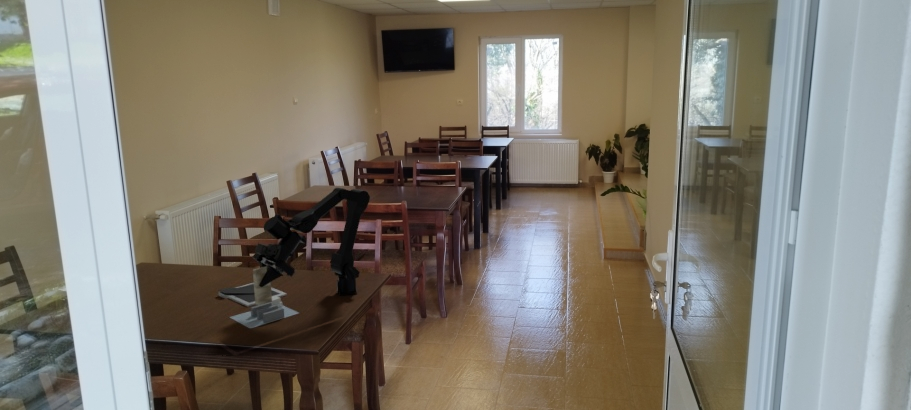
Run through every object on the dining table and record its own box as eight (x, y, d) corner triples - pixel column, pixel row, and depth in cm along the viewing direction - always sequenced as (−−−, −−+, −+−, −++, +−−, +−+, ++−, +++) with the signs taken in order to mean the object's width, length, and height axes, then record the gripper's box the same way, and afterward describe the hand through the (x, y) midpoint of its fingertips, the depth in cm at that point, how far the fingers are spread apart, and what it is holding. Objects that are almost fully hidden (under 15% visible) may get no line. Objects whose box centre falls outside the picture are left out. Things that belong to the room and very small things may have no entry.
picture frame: (218, 297, 224) (247, 310, 211) (218, 290, 224) (247, 303, 210) (257, 286, 236) (287, 298, 222) (256, 279, 235) (286, 291, 222)
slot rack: (278, 305, 214) (277, 295, 213) (299, 315, 205) (298, 304, 204) (229, 319, 201) (228, 308, 201) (250, 330, 192) (249, 319, 191)
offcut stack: (276, 303, 214) (275, 295, 213) (282, 306, 211) (282, 298, 210) (262, 307, 210) (262, 299, 209) (269, 310, 207) (268, 302, 207)
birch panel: (268, 300, 204) (266, 266, 202) (272, 301, 203) (269, 267, 201) (255, 304, 201) (252, 269, 198) (258, 305, 199) (255, 270, 197)
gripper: (255, 229, 206) (227, 267, 201) (284, 238, 194) (255, 279, 188) (277, 246, 214) (251, 284, 208) (307, 256, 201) (279, 296, 195)
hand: (258, 285), depth 200 cm, fingers closed on birch panel, 2 cm apart
